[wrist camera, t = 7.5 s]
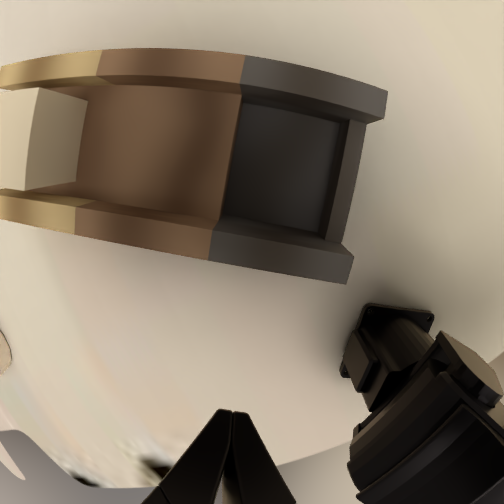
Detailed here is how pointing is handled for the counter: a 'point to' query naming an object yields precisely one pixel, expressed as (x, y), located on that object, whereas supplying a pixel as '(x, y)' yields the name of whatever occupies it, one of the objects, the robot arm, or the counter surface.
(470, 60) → the counter surface
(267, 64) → the channel
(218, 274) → the counter surface
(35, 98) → the cream block
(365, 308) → the robot arm
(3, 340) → the white cup
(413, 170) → the counter surface
